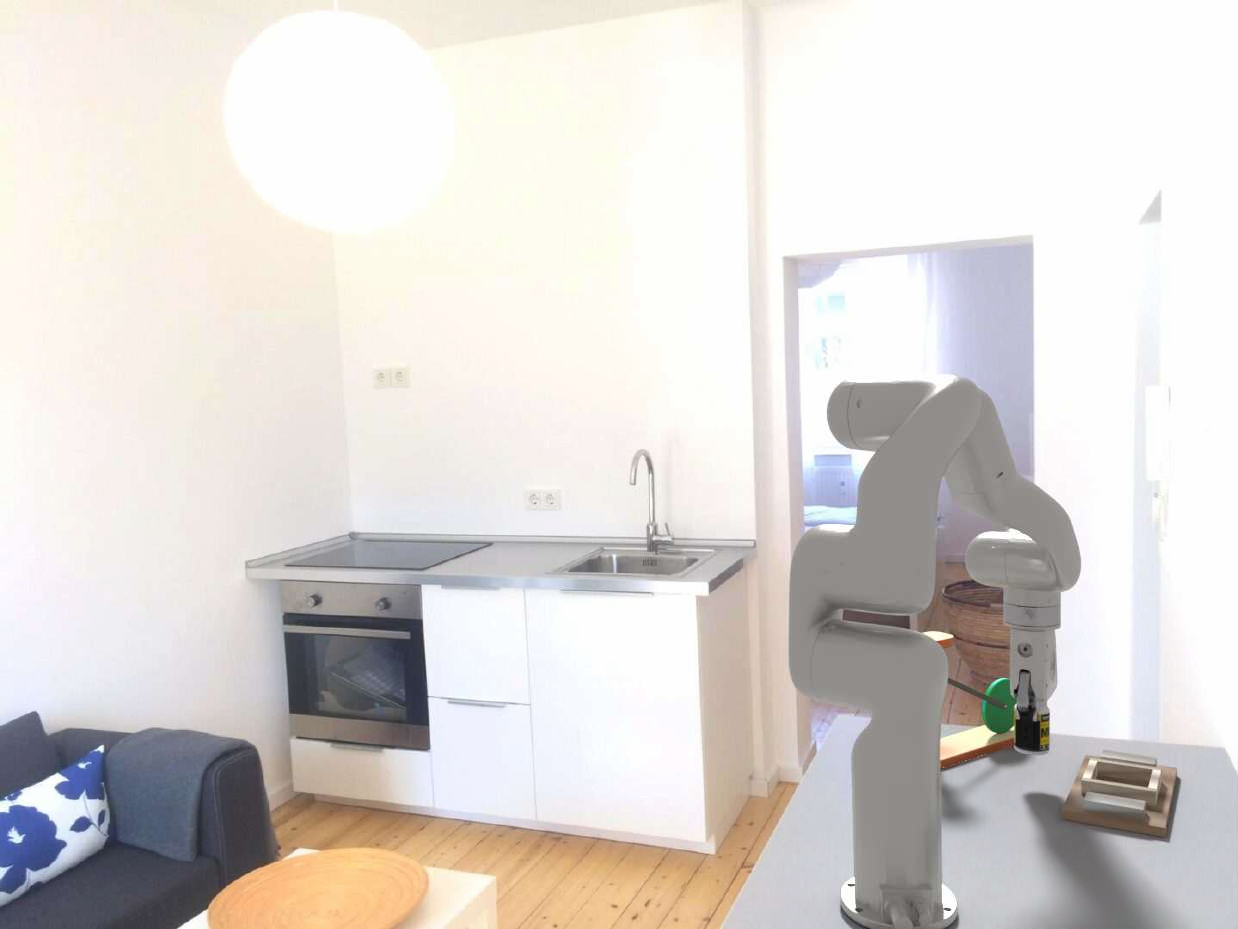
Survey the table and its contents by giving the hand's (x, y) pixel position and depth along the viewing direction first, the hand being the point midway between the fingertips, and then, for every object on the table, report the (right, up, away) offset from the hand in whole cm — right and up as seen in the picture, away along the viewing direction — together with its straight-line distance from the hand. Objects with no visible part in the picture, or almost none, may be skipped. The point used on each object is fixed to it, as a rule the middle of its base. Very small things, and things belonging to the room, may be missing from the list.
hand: (1031, 740), depth 147 cm
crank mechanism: (-2, -5, +16) cm, 17 cm away
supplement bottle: (0, -2, 0) cm, 2 cm away
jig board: (+10, -6, -5) cm, 13 cm away
